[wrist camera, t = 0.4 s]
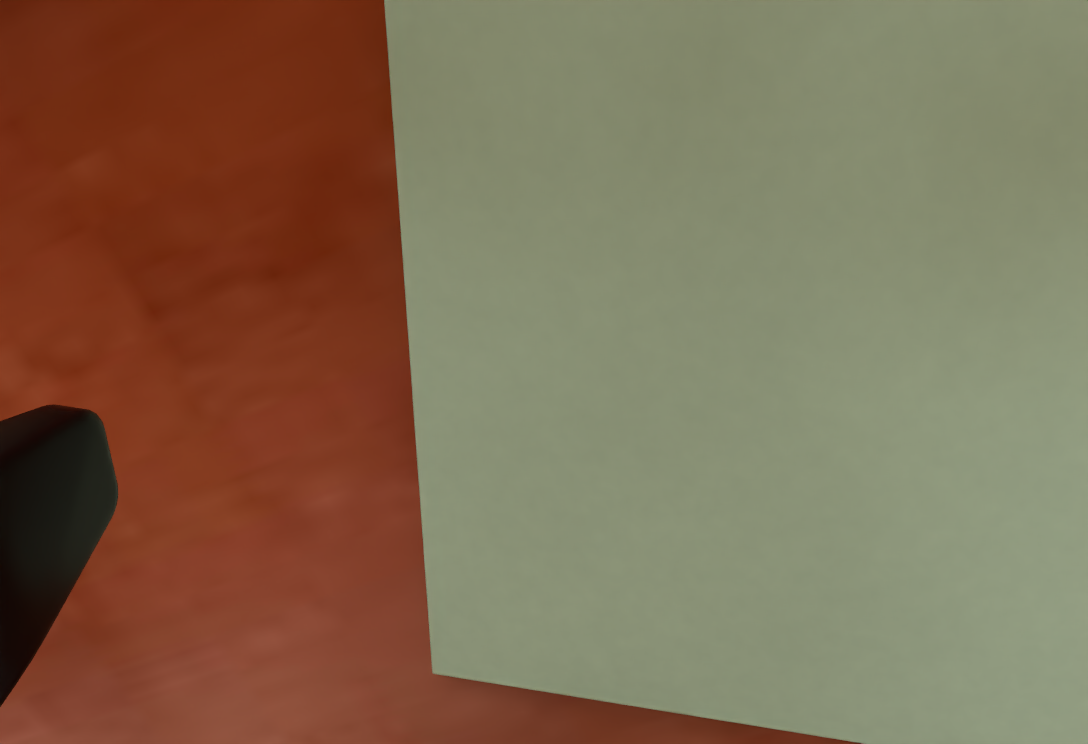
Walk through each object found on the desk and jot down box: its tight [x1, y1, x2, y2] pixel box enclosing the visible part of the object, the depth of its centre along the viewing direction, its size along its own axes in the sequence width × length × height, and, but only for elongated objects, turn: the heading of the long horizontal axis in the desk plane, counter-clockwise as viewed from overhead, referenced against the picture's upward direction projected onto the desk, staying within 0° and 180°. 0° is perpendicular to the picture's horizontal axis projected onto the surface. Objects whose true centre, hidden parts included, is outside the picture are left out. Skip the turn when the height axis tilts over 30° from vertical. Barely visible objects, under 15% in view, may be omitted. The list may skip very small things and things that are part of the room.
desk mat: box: [384, 0, 1088, 744], centre depth 23 cm, size 20×18×1 cm
